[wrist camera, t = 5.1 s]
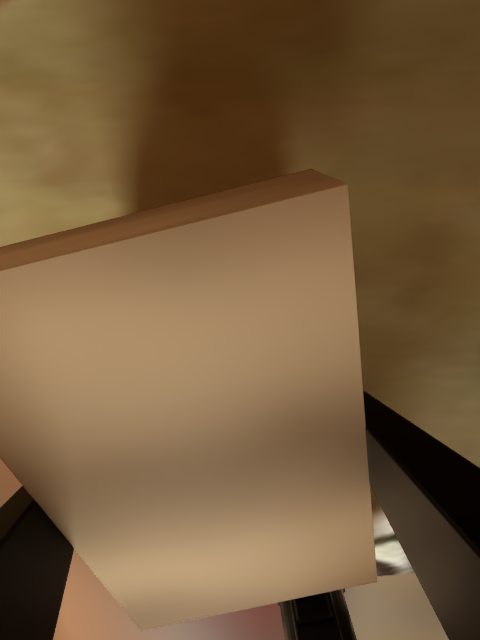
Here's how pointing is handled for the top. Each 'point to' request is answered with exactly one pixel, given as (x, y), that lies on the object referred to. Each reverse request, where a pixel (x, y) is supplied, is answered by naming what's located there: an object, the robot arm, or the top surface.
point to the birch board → (195, 398)
